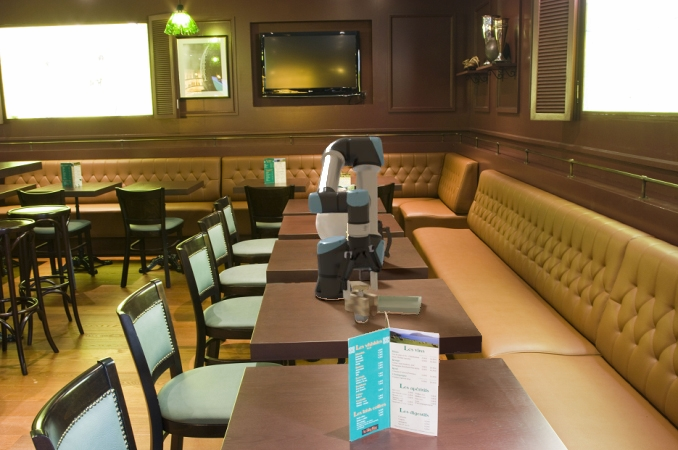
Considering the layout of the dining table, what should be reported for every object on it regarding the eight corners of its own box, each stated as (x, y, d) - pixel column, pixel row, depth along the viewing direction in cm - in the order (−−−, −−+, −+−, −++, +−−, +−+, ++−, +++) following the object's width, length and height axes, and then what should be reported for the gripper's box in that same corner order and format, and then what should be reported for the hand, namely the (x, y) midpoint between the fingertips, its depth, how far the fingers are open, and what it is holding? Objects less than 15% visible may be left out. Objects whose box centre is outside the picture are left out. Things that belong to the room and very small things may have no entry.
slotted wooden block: (345, 309, 226) (344, 293, 225) (357, 305, 231) (357, 289, 229) (368, 317, 218) (368, 300, 217) (381, 312, 222) (381, 296, 221)
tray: (372, 313, 233) (372, 306, 233) (377, 301, 246) (377, 295, 245) (419, 314, 230) (418, 308, 229) (421, 303, 242) (421, 296, 242)
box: (361, 281, 272) (360, 254, 269) (358, 278, 276) (357, 251, 274) (375, 280, 273) (374, 252, 271) (372, 277, 278) (371, 250, 275)
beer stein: (356, 264, 299) (358, 222, 294) (364, 258, 308) (365, 217, 304) (388, 268, 293) (389, 226, 288) (394, 262, 303) (396, 221, 298)
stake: (352, 323, 224) (351, 287, 221) (355, 318, 228) (353, 283, 226) (368, 324, 223) (367, 288, 220) (370, 319, 227) (369, 284, 225)
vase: (335, 239, 349) (333, 184, 343) (363, 245, 334) (361, 188, 327) (309, 245, 337) (307, 189, 331) (337, 252, 321) (334, 193, 315)
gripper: (340, 242, 208) (342, 305, 212) (391, 230, 225) (392, 288, 229) (324, 239, 213) (327, 300, 217) (375, 227, 230) (377, 284, 234)
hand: (360, 294), depth 223 cm, fingers open, 13 cm apart
